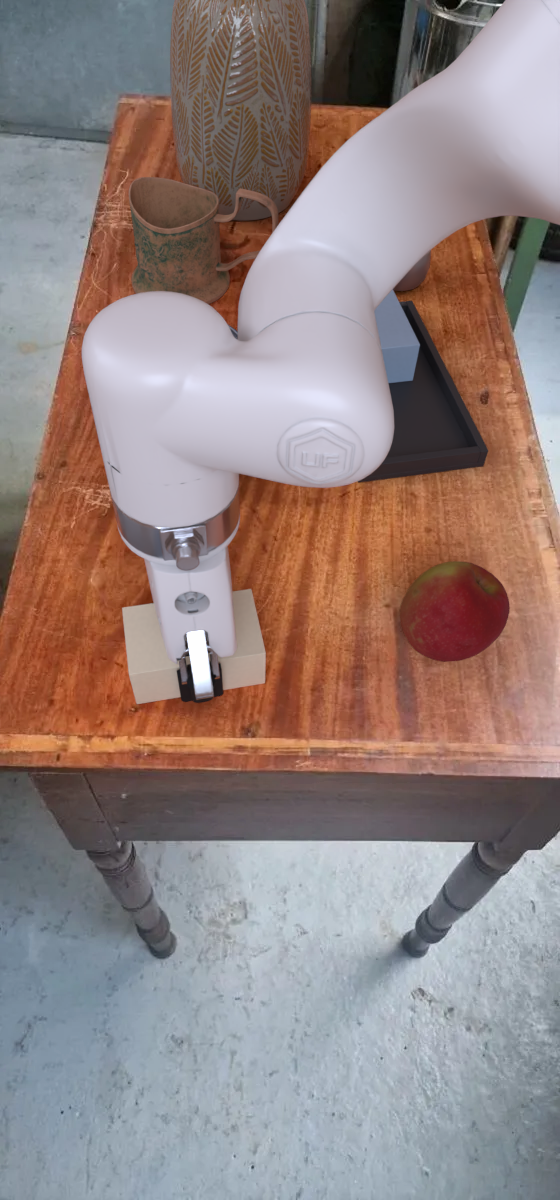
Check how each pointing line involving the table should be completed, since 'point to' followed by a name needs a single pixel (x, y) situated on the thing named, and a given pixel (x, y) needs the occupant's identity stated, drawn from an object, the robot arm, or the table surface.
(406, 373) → the pale blue brick
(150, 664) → the cream block
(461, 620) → the apple
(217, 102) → the vase
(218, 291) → the mug
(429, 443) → the tray
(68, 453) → the table surface
